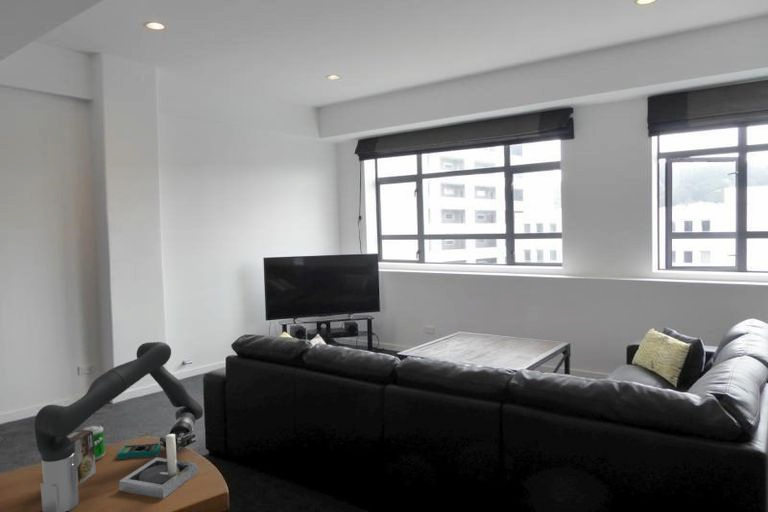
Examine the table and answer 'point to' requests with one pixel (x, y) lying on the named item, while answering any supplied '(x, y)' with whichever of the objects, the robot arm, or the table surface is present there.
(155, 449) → the digital multimeter
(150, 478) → the lever
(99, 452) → the soda can
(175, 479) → the grey square frame
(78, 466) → the coffee box
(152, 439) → the table surface
